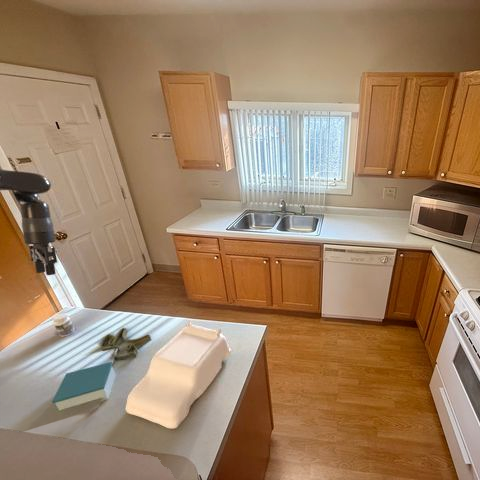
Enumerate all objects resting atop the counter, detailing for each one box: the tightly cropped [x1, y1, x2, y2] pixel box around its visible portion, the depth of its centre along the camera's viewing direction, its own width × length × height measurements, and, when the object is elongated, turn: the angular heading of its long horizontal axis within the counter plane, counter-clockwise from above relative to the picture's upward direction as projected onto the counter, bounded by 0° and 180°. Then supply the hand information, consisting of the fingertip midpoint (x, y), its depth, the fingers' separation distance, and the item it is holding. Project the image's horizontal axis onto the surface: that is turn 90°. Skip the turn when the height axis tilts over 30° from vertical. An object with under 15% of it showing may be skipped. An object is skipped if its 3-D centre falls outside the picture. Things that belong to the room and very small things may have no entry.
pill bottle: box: [52, 312, 76, 337], centre depth 102 cm, size 5×5×8 cm
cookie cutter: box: [99, 327, 152, 361], centre depth 99 cm, size 18×12×2 cm, turn 75°
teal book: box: [51, 361, 117, 411], centre depth 80 cm, size 12×10×6 cm
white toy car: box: [125, 320, 232, 430], centre depth 85 cm, size 19×30×13 cm, turn 165°
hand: (46, 273), depth 94 cm, fingers open, 8 cm apart
